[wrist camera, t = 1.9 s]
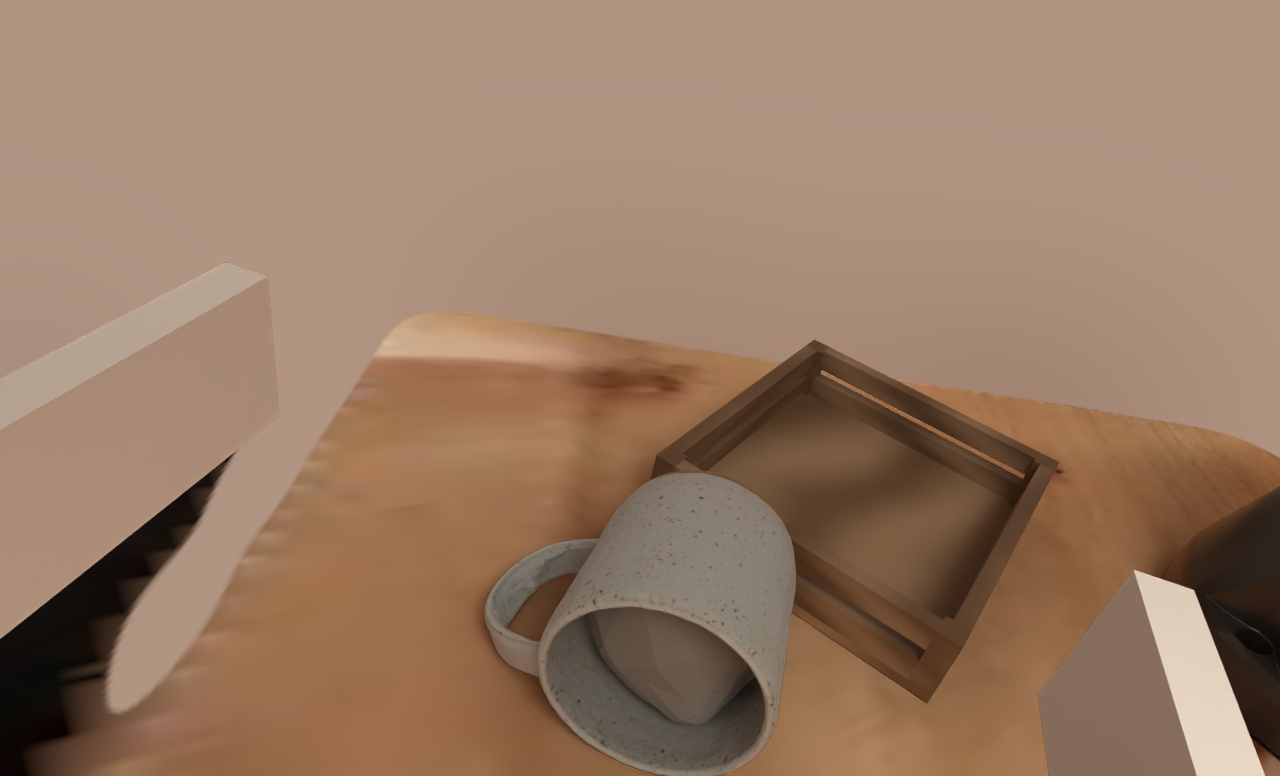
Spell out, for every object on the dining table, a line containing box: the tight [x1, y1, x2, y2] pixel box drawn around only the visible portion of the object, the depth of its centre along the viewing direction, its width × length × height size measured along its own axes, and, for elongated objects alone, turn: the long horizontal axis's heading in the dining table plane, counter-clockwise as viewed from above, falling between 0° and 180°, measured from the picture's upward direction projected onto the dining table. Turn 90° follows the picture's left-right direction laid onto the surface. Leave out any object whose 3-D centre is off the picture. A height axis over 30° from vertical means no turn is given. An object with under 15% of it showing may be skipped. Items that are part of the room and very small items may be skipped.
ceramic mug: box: [485, 470, 796, 776], centre depth 28 cm, size 11×8×8 cm
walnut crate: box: [651, 340, 1059, 703], centre depth 38 cm, size 14×15×3 cm
